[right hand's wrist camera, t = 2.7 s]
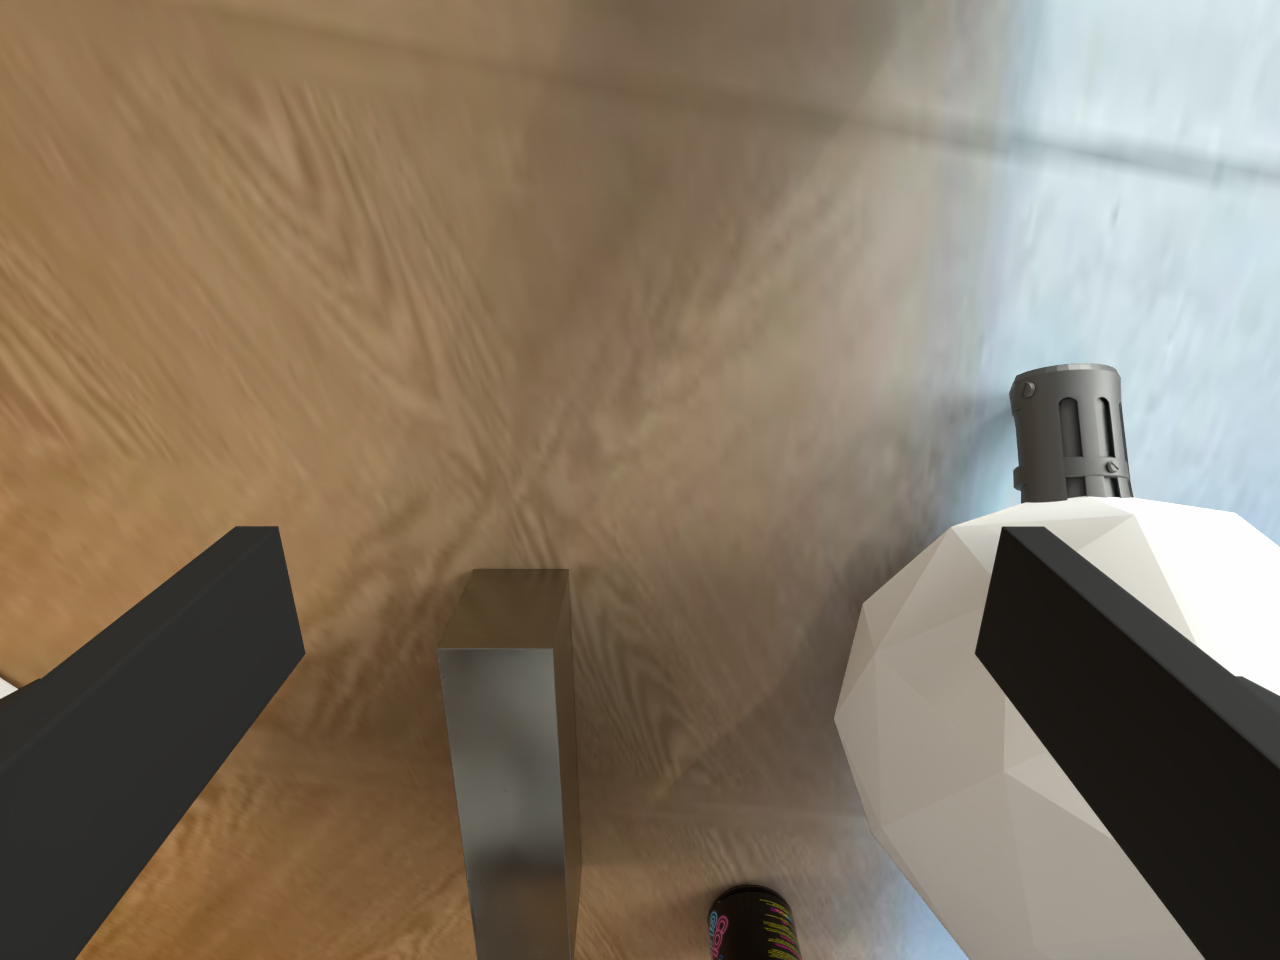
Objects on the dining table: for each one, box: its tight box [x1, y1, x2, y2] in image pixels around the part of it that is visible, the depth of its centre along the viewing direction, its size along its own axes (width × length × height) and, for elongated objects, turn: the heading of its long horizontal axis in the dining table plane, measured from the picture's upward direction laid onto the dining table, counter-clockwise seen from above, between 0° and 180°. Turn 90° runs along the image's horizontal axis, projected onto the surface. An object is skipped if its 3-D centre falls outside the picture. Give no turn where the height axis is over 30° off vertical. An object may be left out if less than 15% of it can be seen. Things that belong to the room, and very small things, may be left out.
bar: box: [437, 569, 582, 960], centre depth 44 cm, size 26×6×8 cm, turn 0°
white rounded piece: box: [834, 363, 1280, 960], centre depth 34 cm, size 23×30×24 cm
